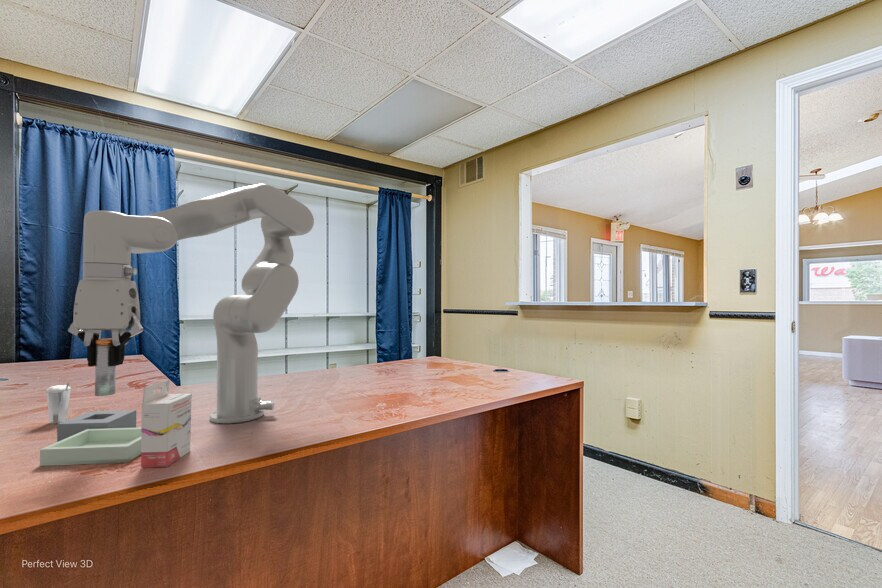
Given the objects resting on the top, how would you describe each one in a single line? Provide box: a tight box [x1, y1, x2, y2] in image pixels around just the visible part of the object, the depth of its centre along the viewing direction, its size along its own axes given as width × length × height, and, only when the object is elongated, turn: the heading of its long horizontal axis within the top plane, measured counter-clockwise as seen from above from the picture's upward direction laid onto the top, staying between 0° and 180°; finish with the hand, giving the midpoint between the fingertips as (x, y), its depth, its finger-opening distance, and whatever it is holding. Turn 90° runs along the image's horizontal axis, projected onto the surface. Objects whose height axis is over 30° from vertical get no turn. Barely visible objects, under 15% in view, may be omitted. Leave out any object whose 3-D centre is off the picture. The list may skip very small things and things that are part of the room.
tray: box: [39, 426, 142, 467], centre depth 84 cm, size 15×12×3 cm
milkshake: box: [45, 381, 72, 425], centre depth 104 cm, size 5×5×10 cm
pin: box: [94, 338, 117, 397], centre depth 84 cm, size 3×3×11 cm
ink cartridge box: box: [140, 379, 193, 468], centre depth 81 cm, size 9×5×15 cm, turn 5°
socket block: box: [56, 409, 137, 442], centre depth 95 cm, size 10×10×4 cm
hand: (105, 364), depth 84 cm, fingers closed on pin, 3 cm apart
